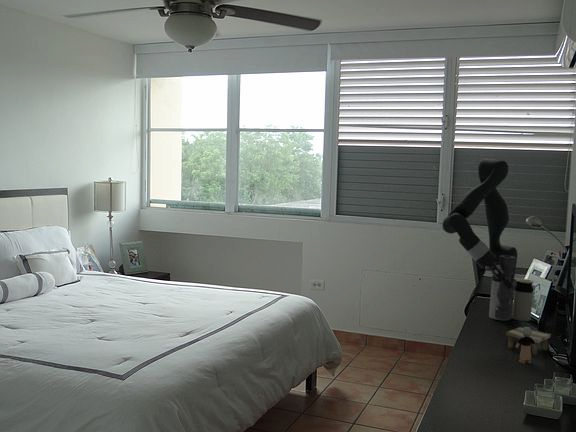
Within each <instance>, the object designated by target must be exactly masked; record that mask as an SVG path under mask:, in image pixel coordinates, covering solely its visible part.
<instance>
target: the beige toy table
mask: <svg viewBox="0 0 576 432" xmlns="http://www.w3.org/2000/svg"><path fill="white" fill-rule="evenodd" d="M523 328H524V327H521V326H519V327H517V328H514V329H511V330H509V331H506V332H505V333H506V334H505V335H506V337H507V336H508V341H507V349H511V350H512V349H514V338H515V339H518V340H519V339H520V338H523V337H525V336H524V335H523V333H522V329H523ZM531 331H532V334H530V336H529V337H531V338H532V339H533V340H534V342H535V345H536V348H533V345H532V344H531V345H532V346H531V355H532V356H533V355H534V356H537V355H538V346H539V343H541V350H543V351H547V350H548V342H549V339H550V338H552V337H551V336H552V334H551V333H547V332H542V331H540V330H539V331H538V330H534V329H531Z"/></svg>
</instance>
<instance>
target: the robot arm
mask: <svg viewBox="0 0 576 432" xmlns="http://www.w3.org/2000/svg"><path fill="white" fill-rule="evenodd" d="M477 171H478V179H479V182H480V183H479V184H478V185H477V186H475V187H473V188H472V189H470V190H469V191H467V192H466V193H465V194H464V195H463V196H462V198H461V199H460V200H459V202H458V203H457V204H456V206H455V207H454V208H453V209H452V211H450V213H448V215H447V216H446V217H445V218H444V220H443V222H442V229H443V230H444V232H446V233H447V234H451V235H452V234H456V233H457V235H458V237H459V239H458V242H459V244H461V246H462V248H463V249H464V250H466V252H467V253H468V254H469V256H470V257H471V259H473V261H474V262H476V264H477V265H478V266H479V267H480V268H481V269H485V268H487V267H488V268H489V269H488V271H489V272H490V273H491V274H492V277H491V288H490V301H489V312H488V318H491V319H492V320H496V321H510V320H511V319H508V320H505V319H499V318H496V317H495V308H497V306H496V305H497V303H498V302H499V301H498V300H499V299H498V298H497V291H498V288H499V285H500V282H503V283H504V284H505V286H506V287H507V288H508V289H510V288H512V294H513V295H514V280H515V276H516V268H517V262H518V251H517V248H516V247H513V246H509V245H502V244H501V239H500V238H501V235H502V234H503V231H504V230H505V228H506V227H507V226H508V223H509V221H510V220H509V219H510V217H509V209H508V205H507V203H506V201H505V200H504V198H503V196H502V195H501V194H500V193H499V192H500V191H498V189H497V187H498V186H499V185H501V184H502V183H503V181H504V180H505V179H506V177H507V176H508V174H509V164H508V163H507V161H505V160H501V159H496V158H495V159H494V158H483V159H481V160H480V161H479V164H478V170H477ZM482 201H484V208H485V216H486V222H487V230H488V238H489V239H488V241H489V242H488V243H489V247H488V246H487V244H486V243H484V242H483V240H482V239H481V238H480V237H479V236H478V235H477V234H476V233H475V232H474V230H473V228H472V226H471V224H470V223H469V221H468V218H469V217H470V216H472V215H473V213H474V212H475V211H476V210H477V208H478V206H479V205H480V204H481V202H482ZM502 255H507V256H513V257H515V265H514V267H513V269H512V271H513V274H512V275H511V283H510V281H509V280H508V279H507V277H505V275H504V273H503V271H502V268H501V266H500V256H502ZM500 271H501V272H500ZM501 276H503V277H502V278H501ZM509 304H510V306H511V308H510V309H511V310H512V307H513V298H512V299H511V300H510V302H509Z"/></svg>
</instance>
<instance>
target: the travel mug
mask: <svg viewBox="0 0 576 432" xmlns="http://www.w3.org/2000/svg"><path fill="white" fill-rule="evenodd" d="M515 281H516V284H515V285H514V287H513V299H512V310H511V319H512V320H515V321H519V322H530V321H531V320H532V319H531V318H532V310H533V309H532V308H533V297H534V296H533V295H534V287H533V283H534V281H533V280H531V279H525V278H516V279H515Z"/></svg>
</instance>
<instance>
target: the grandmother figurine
mask: <svg viewBox="0 0 576 432" xmlns="http://www.w3.org/2000/svg"><path fill="white" fill-rule="evenodd" d="M522 328H523V329H522V333H523V335H524V336H525V337H523V338H520V339H519V338H518V339H519V340H518V341H517V343H516V345H515V348H517V349H518V348H519V347H520V353H519V359H518V362H519V363H520V364H526V363H527V364H532V346H531V345H533V348H536V345H535V342H534V340H533V339H532V338H531V337H529V336H530V334H532V331H531V330H532V329H531V327H529V326H525V327H522ZM520 345H521V346H520Z"/></svg>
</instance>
